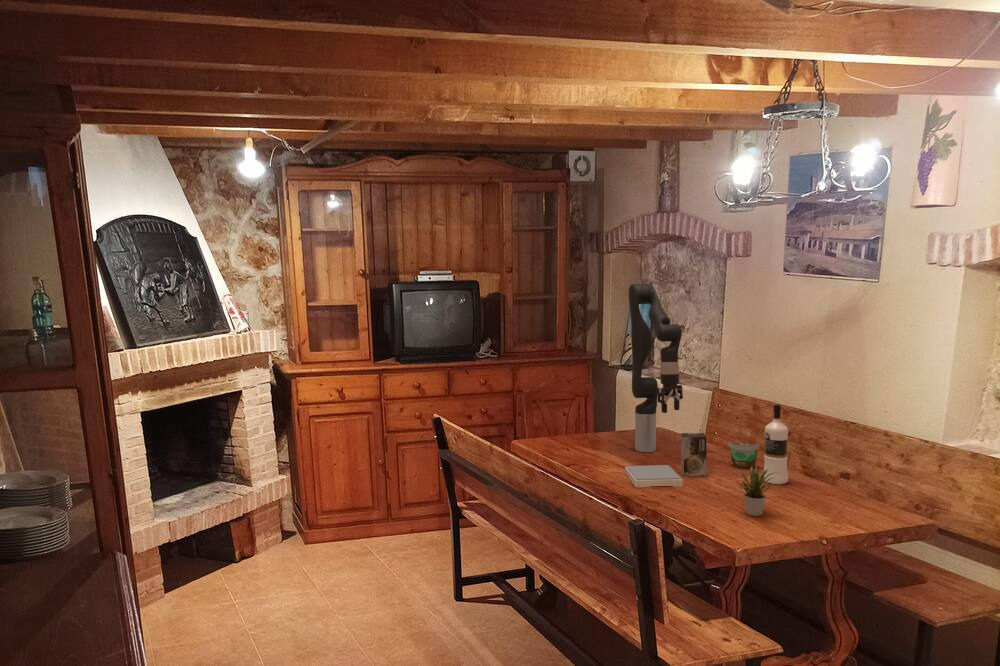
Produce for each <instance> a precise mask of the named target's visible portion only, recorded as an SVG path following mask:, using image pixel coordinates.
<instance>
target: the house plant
mask: <svg viewBox="0 0 1000 666" xmlns="http://www.w3.org/2000/svg"><path fill="white" fill-rule="evenodd" d="M754 469H755V470H754ZM768 469H769V468H768ZM768 469H766V470H765V471H764V470H763V471H764V472H763V471H762V474H761V475H760V473H759V470H758V467H757V466H756V465H755V468H752V466H751V469H750V477H749V478H750V483H749V481H748V479H747V477H746V476H745V474H744V473H743V471H742V472H741V471H740V470H739V469H738V468H735V470H736V471H737V472H738V473H739V474H740V475H741V477H743V479H744V480H743V479H740V481H741V482H742V484H741V483H737V485H738V486H739V487H741V488H740V489H742V488H743V490H745V492H744V493H743V498H744V499H743V501H744V506H745V507H744V509H745V513H746V514H747V515H750V516H752V517H753V516H754V517H759V515H761V516H762V515H763V512H764V507H765V504H766V497H767V496H766V495H765V492H766V491H767V490H768V489H769V488H771V487H772V488H775V487H774V486H775V484H771V485H770V484H767V481H768V480H770V479H772V478H770V479H768V480H767V481H766V482H765V481H764V480H765V479H766V478H768V476H770V475H772V474H774V473H770V474H769V475H767V476H766V477H764V476H765V475H766V473H767V470H768ZM775 473H777V472H775ZM763 479H764V480H763ZM766 487H767V488H766Z"/></svg>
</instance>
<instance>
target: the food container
mask: <svg viewBox="0 0 1000 666" xmlns="http://www.w3.org/2000/svg"><path fill="white" fill-rule="evenodd" d="M727 447H729V449H730V460H731V461H730V462H731V466H732V467H733V466H734V467H733V468H736V467H737V468H736V469H741V470H751V466H752V468H753V469H755V468H754V467H755V466H756V464H757V456H758V450H759V449H761V448H760V444H759V443H756V444H750V443H745V442H744V443H743V442H740V443H737V442H736V443H735V442H734V443H733V442H731V441H729V442H728V445H727Z"/></svg>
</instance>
